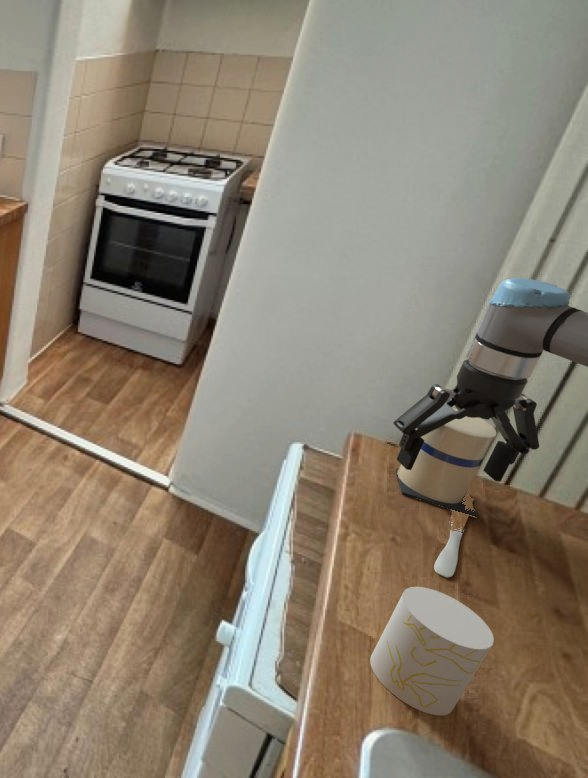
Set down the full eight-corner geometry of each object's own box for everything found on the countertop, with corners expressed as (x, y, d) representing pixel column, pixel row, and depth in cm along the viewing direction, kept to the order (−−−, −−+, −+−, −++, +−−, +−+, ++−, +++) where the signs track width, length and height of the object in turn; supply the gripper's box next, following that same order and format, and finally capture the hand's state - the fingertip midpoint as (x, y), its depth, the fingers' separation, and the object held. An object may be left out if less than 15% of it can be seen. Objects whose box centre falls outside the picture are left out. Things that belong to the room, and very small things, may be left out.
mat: (467, 493, 109) (468, 490, 109) (477, 519, 103) (478, 517, 103) (395, 469, 114) (396, 467, 114) (401, 493, 109) (402, 491, 108)
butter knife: (425, 565, 94) (452, 578, 92) (457, 491, 109) (480, 500, 107) (424, 568, 94) (451, 581, 92) (456, 493, 110) (479, 502, 107)
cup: (366, 680, 78) (399, 615, 73) (373, 638, 83) (405, 575, 79) (452, 730, 72) (494, 663, 68) (454, 682, 78) (493, 617, 73)
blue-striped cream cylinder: (439, 471, 113) (476, 507, 105) (385, 464, 115) (418, 499, 107) (470, 408, 108) (511, 441, 100) (413, 402, 110) (449, 433, 102)
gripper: (564, 365, 100) (511, 466, 108) (395, 348, 105) (355, 446, 112) (608, 390, 94) (548, 496, 101) (425, 371, 98) (381, 474, 105)
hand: (447, 470), depth 107 cm, fingers open, 13 cm apart
